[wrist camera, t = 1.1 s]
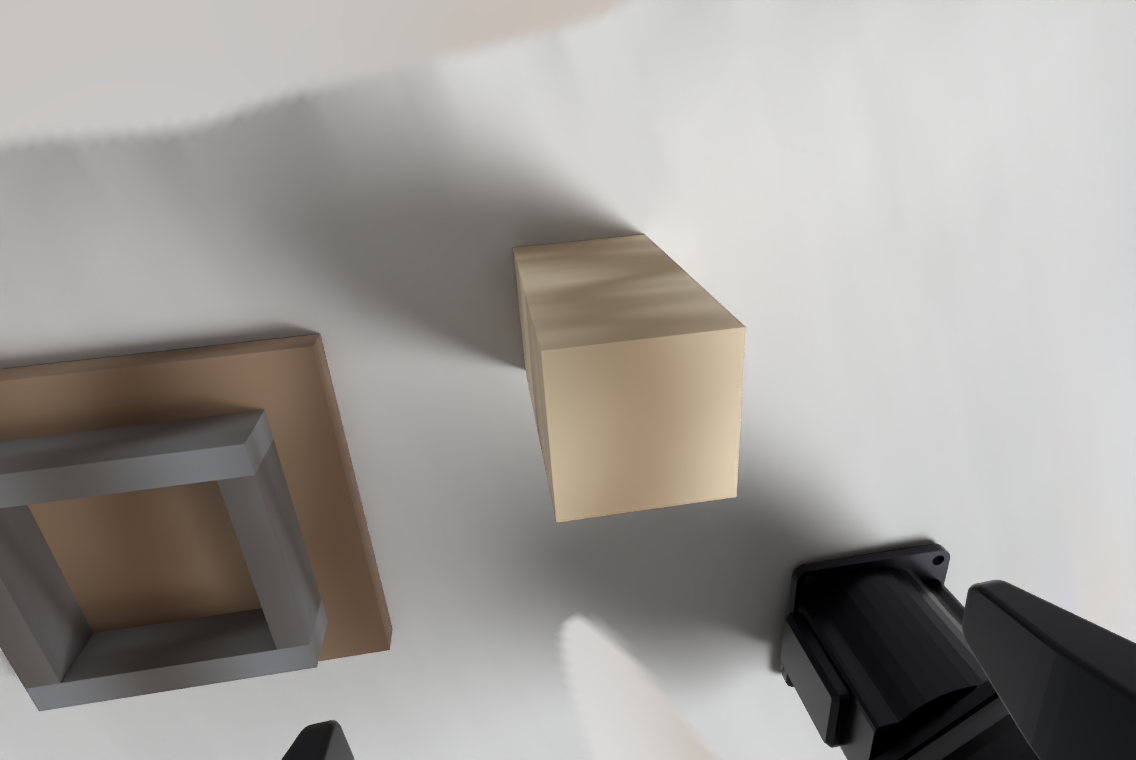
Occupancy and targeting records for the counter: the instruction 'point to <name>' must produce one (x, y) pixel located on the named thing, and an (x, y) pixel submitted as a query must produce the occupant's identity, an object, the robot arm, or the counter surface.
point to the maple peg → (628, 377)
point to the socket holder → (179, 522)
